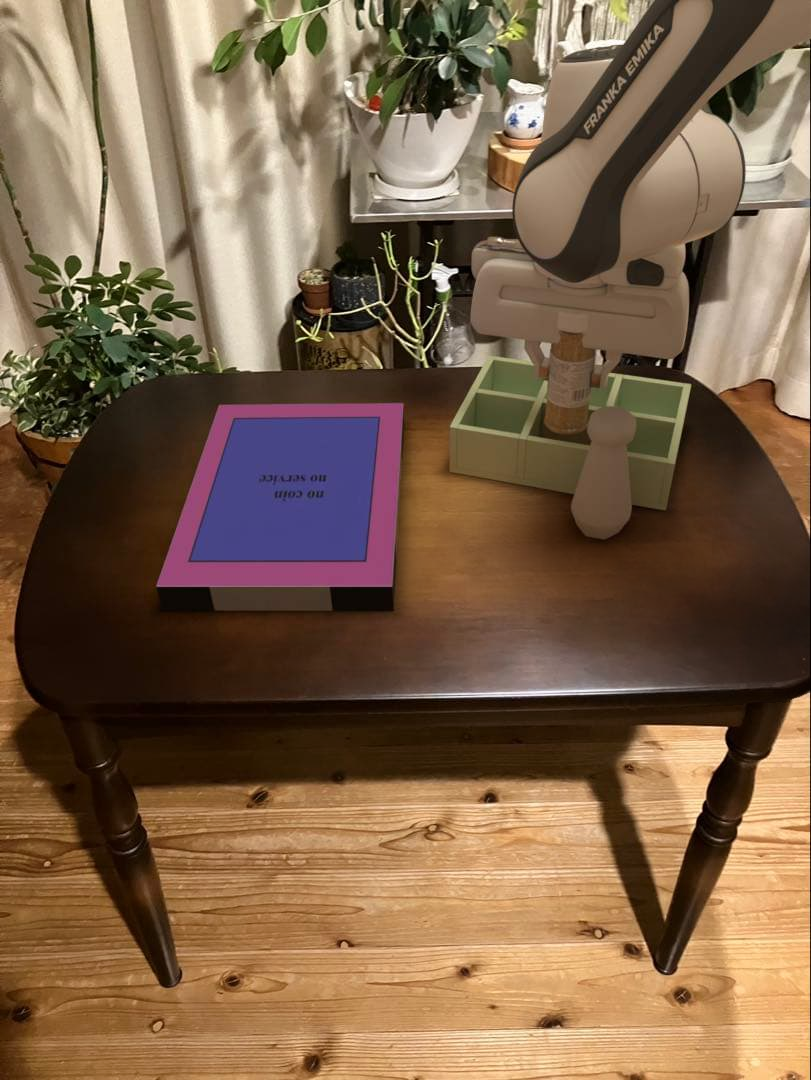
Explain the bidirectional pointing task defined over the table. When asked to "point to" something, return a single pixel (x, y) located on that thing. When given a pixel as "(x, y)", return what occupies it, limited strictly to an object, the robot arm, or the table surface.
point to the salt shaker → (605, 475)
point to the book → (291, 511)
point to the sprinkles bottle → (569, 377)
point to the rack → (555, 459)
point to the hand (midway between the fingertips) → (570, 381)
